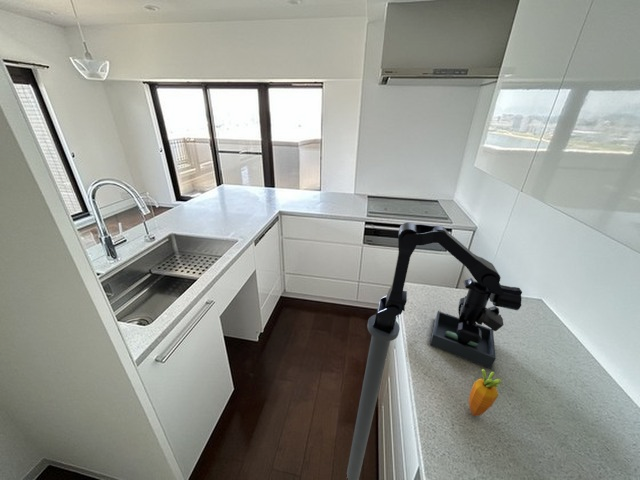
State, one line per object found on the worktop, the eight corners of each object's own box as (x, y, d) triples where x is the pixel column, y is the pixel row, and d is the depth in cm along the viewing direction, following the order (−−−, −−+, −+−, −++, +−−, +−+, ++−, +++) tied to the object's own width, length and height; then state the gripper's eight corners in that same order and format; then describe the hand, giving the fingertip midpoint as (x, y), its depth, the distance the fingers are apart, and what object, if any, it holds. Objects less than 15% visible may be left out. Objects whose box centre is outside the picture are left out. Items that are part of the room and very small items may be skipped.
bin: (429, 345, 85) (433, 334, 83) (434, 320, 96) (437, 310, 94) (490, 369, 78) (495, 358, 76) (488, 339, 89) (493, 329, 87)
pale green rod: (444, 336, 88) (445, 332, 87) (444, 333, 90) (446, 328, 89) (477, 349, 84) (479, 344, 83) (476, 345, 85) (478, 340, 85)
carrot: (458, 405, 67) (475, 366, 61) (475, 404, 68) (495, 365, 61) (469, 425, 63) (490, 385, 56) (488, 424, 63) (510, 384, 57)
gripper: (510, 329, 68) (490, 369, 75) (503, 293, 83) (487, 329, 90) (464, 314, 73) (449, 353, 80) (465, 282, 88) (453, 317, 95)
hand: (461, 337), depth 86 cm, fingers open, 9 cm apart
